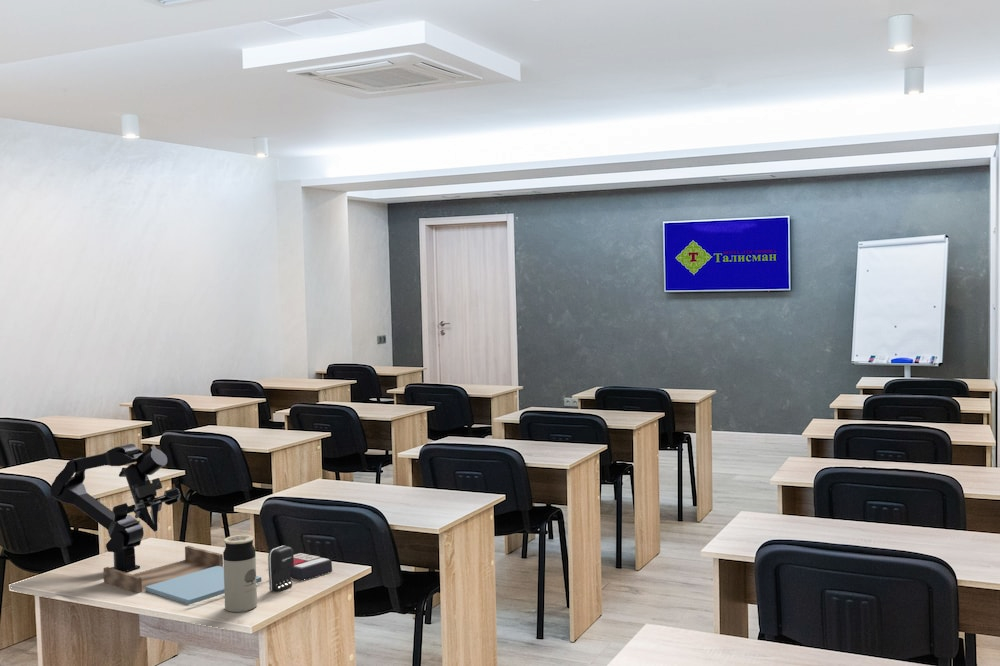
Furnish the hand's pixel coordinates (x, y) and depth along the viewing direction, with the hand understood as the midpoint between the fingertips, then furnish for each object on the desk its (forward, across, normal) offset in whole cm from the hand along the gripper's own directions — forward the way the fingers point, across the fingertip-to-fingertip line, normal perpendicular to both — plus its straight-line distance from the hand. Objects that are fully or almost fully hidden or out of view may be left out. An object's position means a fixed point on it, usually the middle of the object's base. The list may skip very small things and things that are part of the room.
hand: (156, 530), depth 260 cm
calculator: (+28, +32, -6) cm, 43 cm away
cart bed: (+13, -1, +5) cm, 14 cm away
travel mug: (+35, +8, -26) cm, 45 cm away
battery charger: (+33, +22, -18) cm, 44 cm away
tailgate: (+17, +2, -2) cm, 17 cm away
